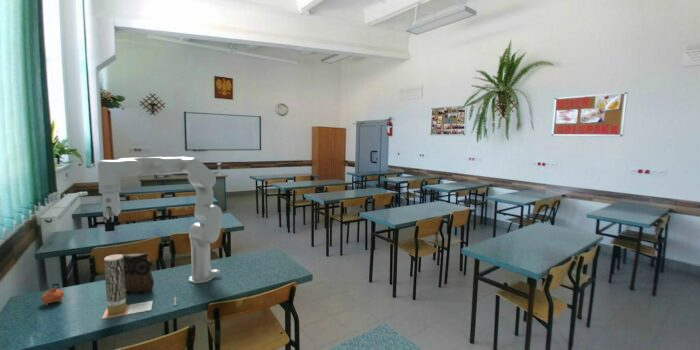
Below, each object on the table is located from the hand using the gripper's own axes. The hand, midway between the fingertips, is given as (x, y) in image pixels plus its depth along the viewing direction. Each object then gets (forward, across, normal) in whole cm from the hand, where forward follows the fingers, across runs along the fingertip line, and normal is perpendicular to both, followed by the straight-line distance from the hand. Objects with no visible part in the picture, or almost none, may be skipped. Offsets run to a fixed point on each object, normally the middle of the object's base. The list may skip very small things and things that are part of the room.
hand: (112, 228), depth 142 cm
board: (+38, 0, -9) cm, 39 cm away
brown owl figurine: (+38, +20, -7) cm, 44 cm away
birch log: (+38, 0, 0) cm, 38 cm away
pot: (+38, +21, +28) cm, 52 cm away
